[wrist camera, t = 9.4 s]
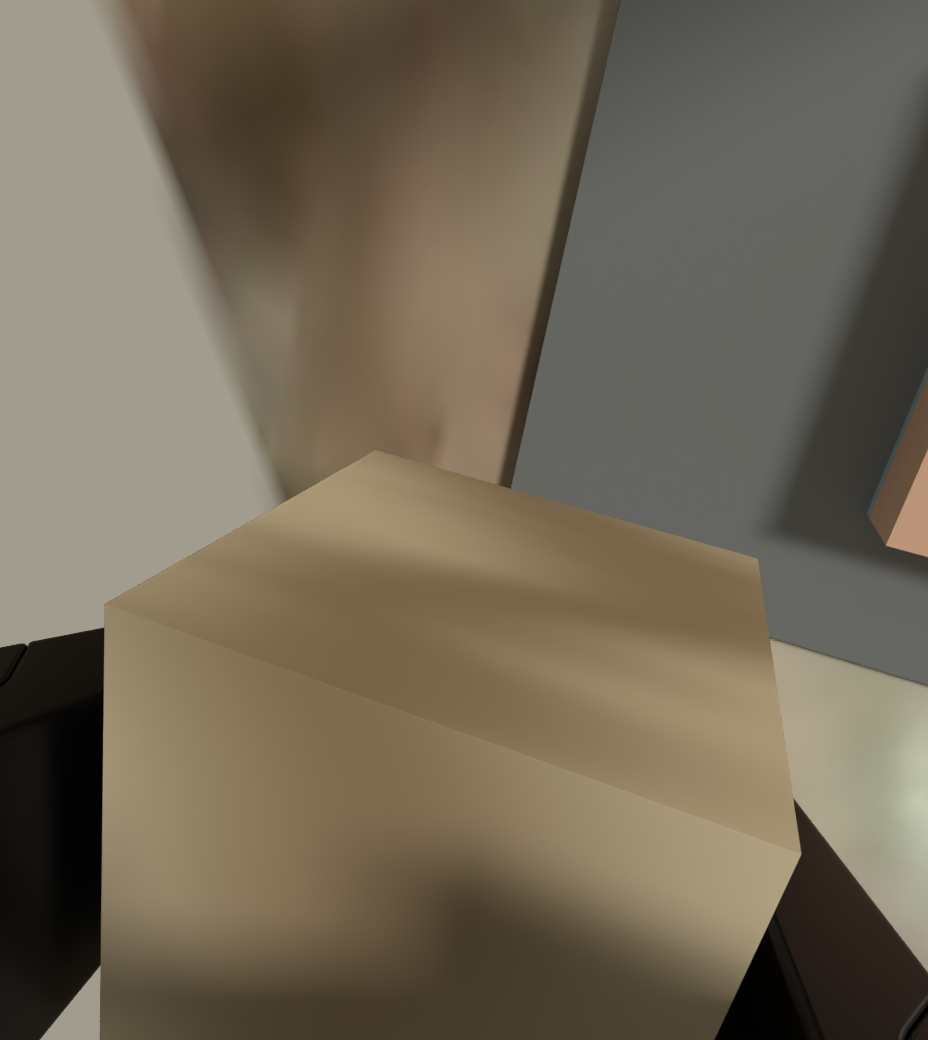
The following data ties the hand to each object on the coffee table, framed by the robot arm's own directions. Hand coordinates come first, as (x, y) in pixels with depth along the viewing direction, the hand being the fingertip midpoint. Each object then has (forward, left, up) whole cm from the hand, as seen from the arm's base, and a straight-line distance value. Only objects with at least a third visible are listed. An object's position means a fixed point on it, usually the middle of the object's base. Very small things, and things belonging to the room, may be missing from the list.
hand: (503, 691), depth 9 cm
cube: (0, 0, -1) cm, 1 cm away
